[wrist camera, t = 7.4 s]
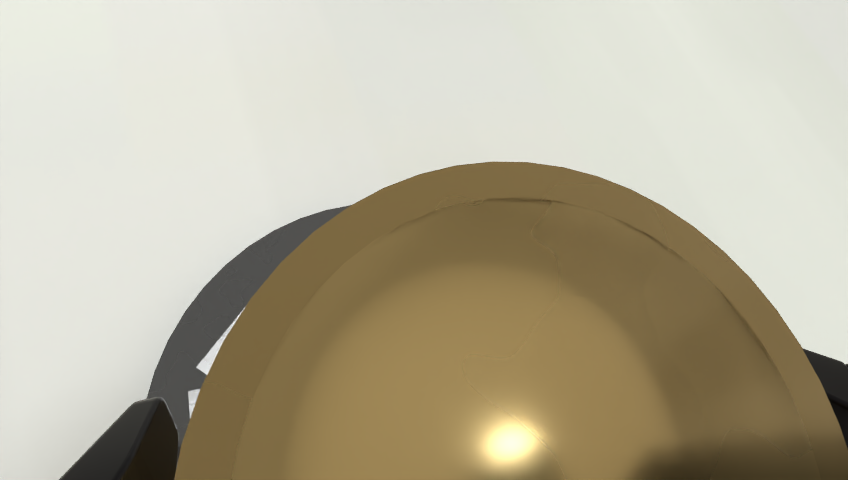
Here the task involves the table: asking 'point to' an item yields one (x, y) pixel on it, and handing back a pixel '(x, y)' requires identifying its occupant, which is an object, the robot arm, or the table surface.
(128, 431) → the robot arm
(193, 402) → the flange
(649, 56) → the table surface
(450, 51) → the table surface
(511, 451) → the gold flared cylinder
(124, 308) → the table surface
